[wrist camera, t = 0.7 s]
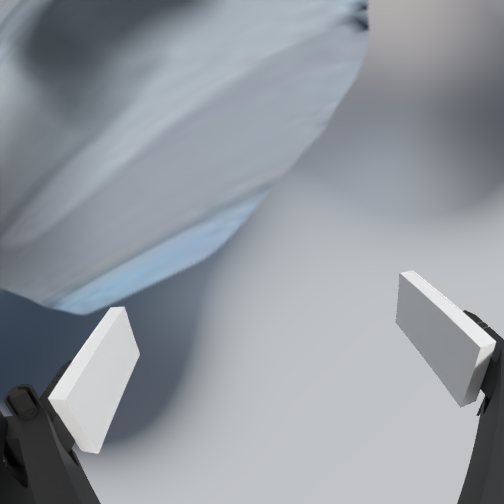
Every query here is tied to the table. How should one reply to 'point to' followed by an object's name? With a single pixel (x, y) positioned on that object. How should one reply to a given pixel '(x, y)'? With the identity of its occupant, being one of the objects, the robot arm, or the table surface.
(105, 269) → the table surface
